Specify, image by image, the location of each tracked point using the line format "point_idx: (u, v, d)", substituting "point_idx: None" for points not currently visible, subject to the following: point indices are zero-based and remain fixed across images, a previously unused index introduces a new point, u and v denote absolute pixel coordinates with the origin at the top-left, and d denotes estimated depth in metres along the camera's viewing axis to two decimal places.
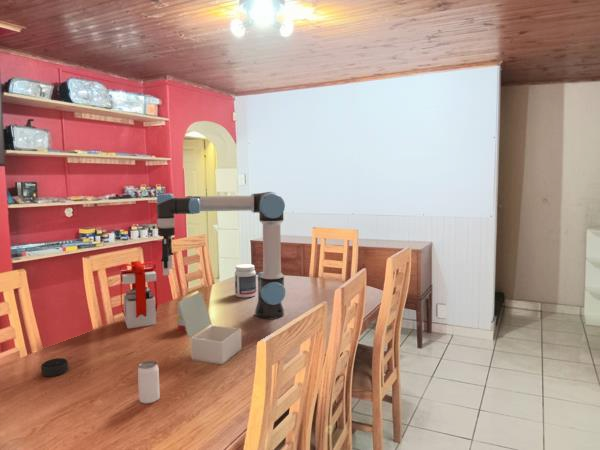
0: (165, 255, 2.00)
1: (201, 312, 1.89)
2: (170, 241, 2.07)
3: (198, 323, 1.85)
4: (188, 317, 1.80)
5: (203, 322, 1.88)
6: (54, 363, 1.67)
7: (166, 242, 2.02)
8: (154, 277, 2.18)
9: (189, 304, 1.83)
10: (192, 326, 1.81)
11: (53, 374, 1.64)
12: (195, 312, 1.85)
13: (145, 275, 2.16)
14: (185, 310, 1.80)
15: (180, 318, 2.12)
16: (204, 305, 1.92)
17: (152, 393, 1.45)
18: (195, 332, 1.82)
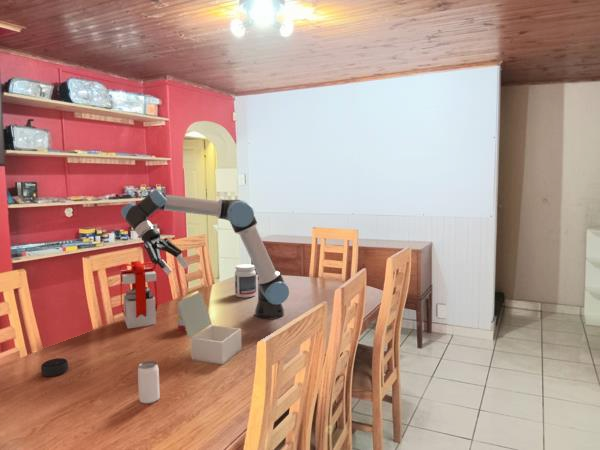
0: (152, 256, 1.87)
1: (201, 312, 1.89)
2: (156, 242, 1.94)
3: (198, 323, 1.85)
4: (188, 317, 1.80)
5: (203, 322, 1.88)
6: (54, 363, 1.67)
7: (147, 245, 1.90)
8: (154, 277, 2.18)
9: (189, 304, 1.83)
10: (192, 326, 1.81)
11: (53, 374, 1.64)
12: (195, 312, 1.85)
13: (145, 275, 2.16)
14: (185, 310, 1.80)
15: (180, 318, 2.12)
16: (204, 305, 1.92)
17: (152, 393, 1.45)
18: (195, 332, 1.82)
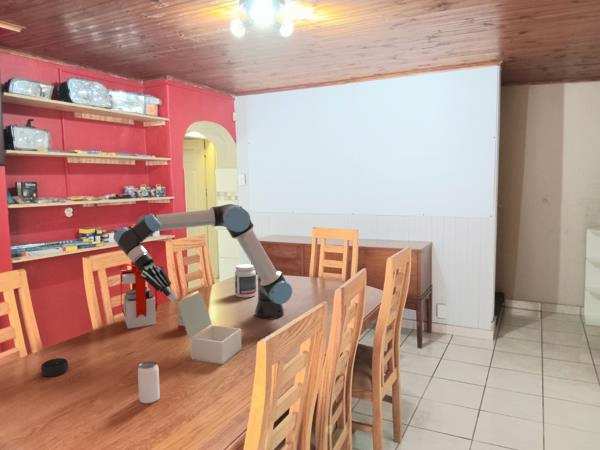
0: (156, 285, 1.85)
1: (201, 312, 1.89)
2: (150, 268, 1.88)
3: (198, 323, 1.85)
4: (188, 317, 1.80)
5: (203, 322, 1.88)
6: (54, 363, 1.67)
7: (145, 275, 1.84)
8: None
9: (189, 304, 1.83)
10: (192, 326, 1.81)
11: (53, 374, 1.64)
12: (195, 312, 1.85)
13: None
14: (185, 310, 1.80)
15: (180, 318, 2.12)
16: (204, 305, 1.92)
17: (152, 393, 1.45)
18: (195, 332, 1.82)
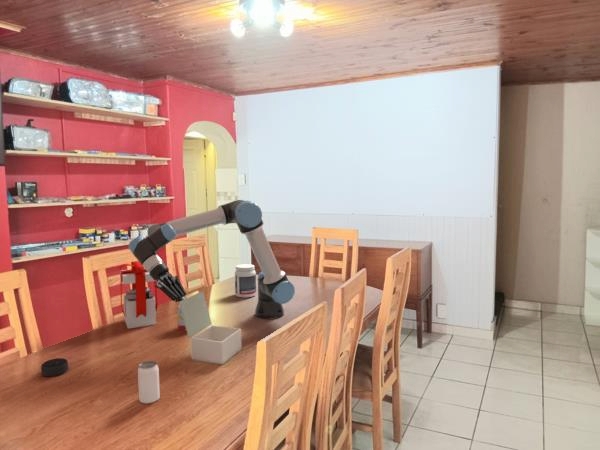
0: (171, 295, 1.83)
1: (202, 312, 1.89)
2: (166, 278, 1.86)
3: (198, 323, 1.85)
4: (189, 317, 1.80)
5: (203, 322, 1.88)
6: (54, 363, 1.67)
7: (161, 285, 1.83)
8: None
9: (190, 304, 1.83)
10: (192, 326, 1.81)
11: (53, 374, 1.64)
12: (196, 312, 1.85)
13: (145, 275, 2.16)
14: (186, 310, 1.80)
15: (180, 318, 2.12)
16: (205, 305, 1.92)
17: (152, 393, 1.45)
18: (195, 332, 1.82)
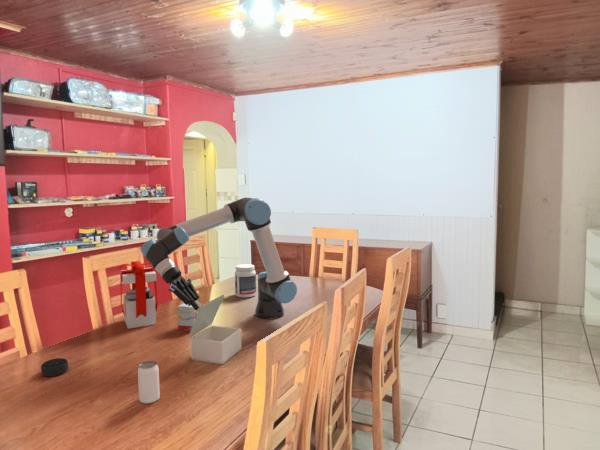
0: (184, 299, 1.81)
1: (211, 314, 1.87)
2: (179, 282, 1.84)
3: (203, 324, 1.84)
4: (200, 319, 1.78)
5: (207, 323, 1.87)
6: (54, 363, 1.67)
7: (174, 289, 1.80)
8: (154, 277, 2.18)
9: (208, 308, 1.80)
10: (197, 327, 1.80)
11: (53, 374, 1.64)
12: (208, 315, 1.83)
13: (145, 275, 2.16)
14: (202, 313, 1.77)
15: (180, 318, 2.12)
16: (218, 308, 1.90)
17: (152, 393, 1.45)
18: (196, 332, 1.81)
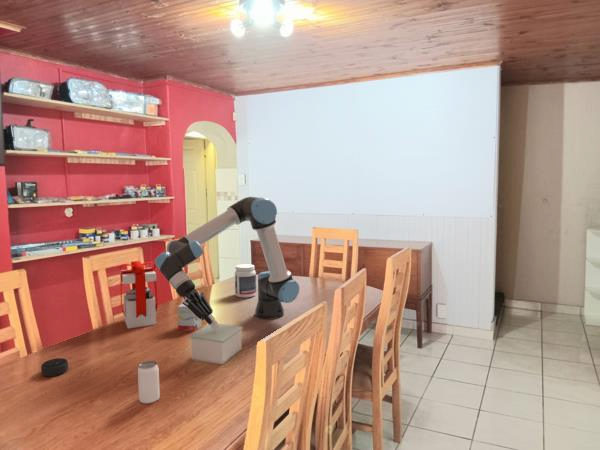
0: (198, 313, 1.80)
1: None
2: (193, 295, 1.82)
3: None
4: None
5: None
6: (54, 363, 1.67)
7: (188, 303, 1.79)
8: (154, 277, 2.18)
9: None
10: None
11: (53, 374, 1.64)
12: None
13: (145, 275, 2.16)
14: None
15: (180, 318, 2.12)
16: None
17: (152, 393, 1.45)
18: None
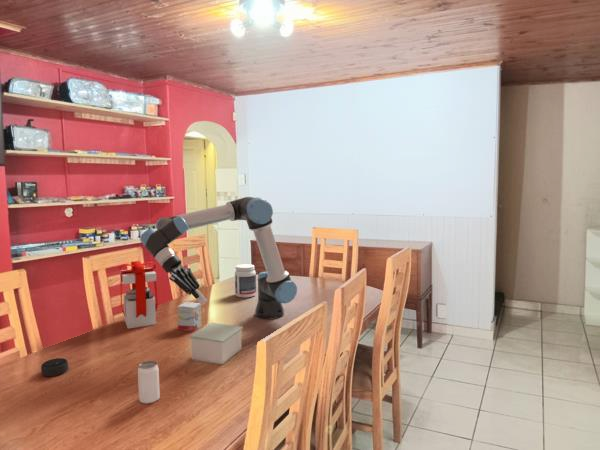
0: (185, 288, 1.81)
1: None
2: (179, 271, 1.83)
3: None
4: None
5: None
6: (54, 363, 1.67)
7: (174, 277, 1.80)
8: (154, 277, 2.18)
9: None
10: None
11: (53, 374, 1.64)
12: None
13: (145, 275, 2.16)
14: None
15: (180, 318, 2.12)
16: None
17: (152, 393, 1.45)
18: None
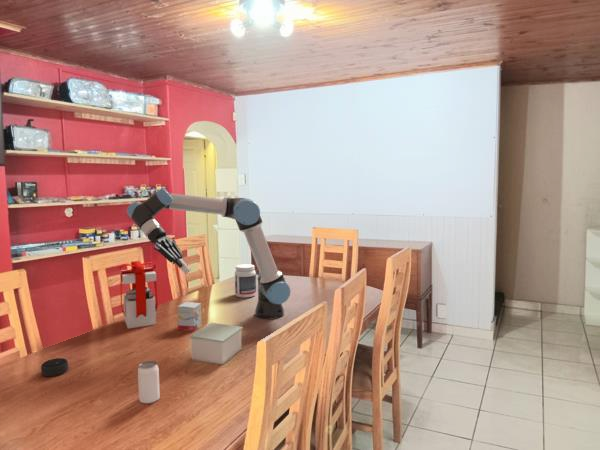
0: (169, 257, 1.89)
1: None
2: (163, 241, 1.92)
3: None
4: None
5: None
6: (54, 363, 1.67)
7: (158, 247, 1.89)
8: (154, 277, 2.18)
9: None
10: None
11: (53, 374, 1.64)
12: None
13: (145, 275, 2.16)
14: None
15: (180, 318, 2.12)
16: None
17: (152, 393, 1.45)
18: None
